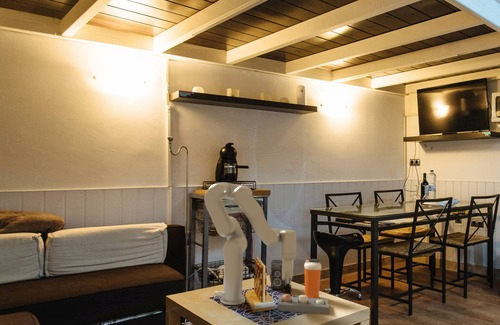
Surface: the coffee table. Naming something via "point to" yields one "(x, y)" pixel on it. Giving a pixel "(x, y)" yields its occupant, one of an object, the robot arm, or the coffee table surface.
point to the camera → (276, 275)
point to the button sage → (320, 302)
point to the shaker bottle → (312, 278)
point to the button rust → (286, 298)
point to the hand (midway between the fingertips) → (287, 293)
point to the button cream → (303, 299)
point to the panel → (303, 305)
